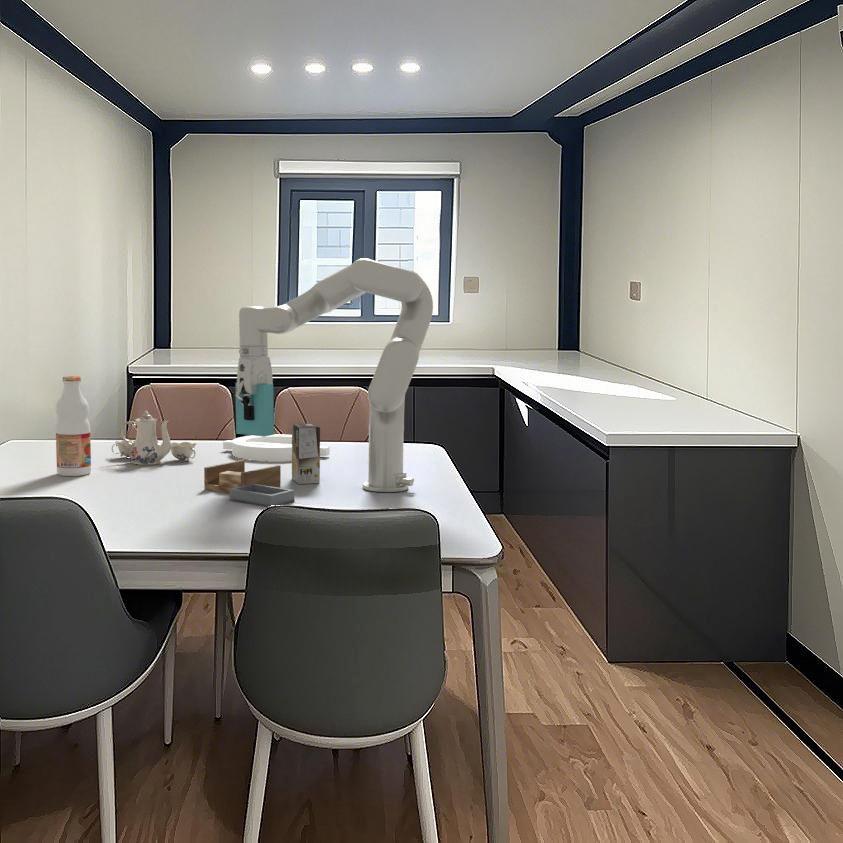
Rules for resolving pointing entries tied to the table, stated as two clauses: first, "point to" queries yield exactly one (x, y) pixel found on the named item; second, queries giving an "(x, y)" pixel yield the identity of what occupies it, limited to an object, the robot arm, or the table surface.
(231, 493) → the charcoal tray
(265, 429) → the teal sheet
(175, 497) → the table surface
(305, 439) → the coffee box
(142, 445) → the chinaware
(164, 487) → the table surface
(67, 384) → the fruit juice
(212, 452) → the table surface
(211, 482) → the offcut rack
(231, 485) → the offcut lower
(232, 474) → the offcut upper
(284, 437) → the white circle with bar
